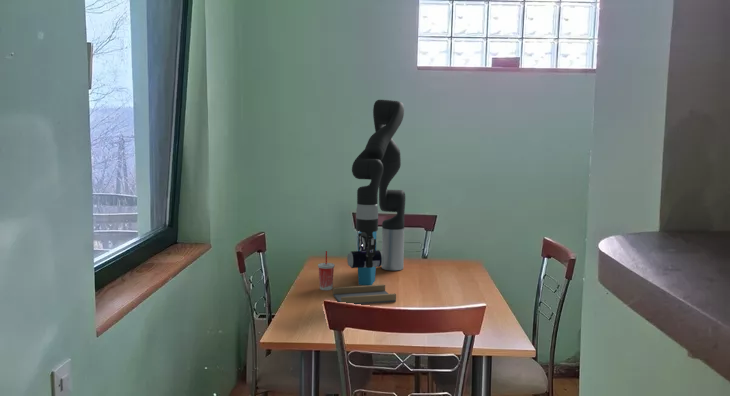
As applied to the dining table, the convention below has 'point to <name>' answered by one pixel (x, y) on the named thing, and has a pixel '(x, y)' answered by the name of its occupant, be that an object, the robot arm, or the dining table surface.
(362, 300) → the brown open tray
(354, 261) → the beverage can
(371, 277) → the block
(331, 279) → the beverage cup
